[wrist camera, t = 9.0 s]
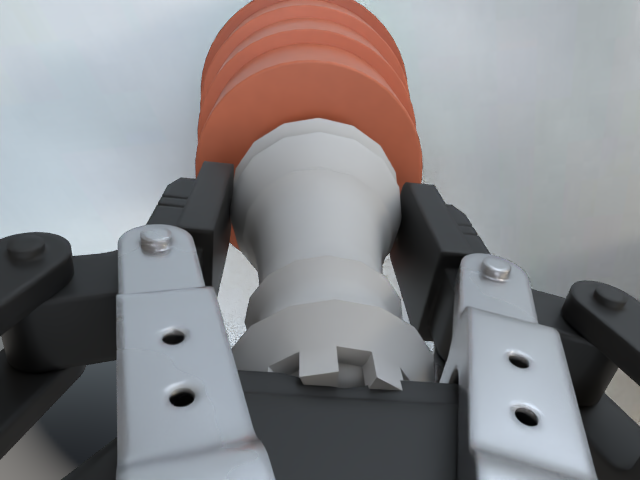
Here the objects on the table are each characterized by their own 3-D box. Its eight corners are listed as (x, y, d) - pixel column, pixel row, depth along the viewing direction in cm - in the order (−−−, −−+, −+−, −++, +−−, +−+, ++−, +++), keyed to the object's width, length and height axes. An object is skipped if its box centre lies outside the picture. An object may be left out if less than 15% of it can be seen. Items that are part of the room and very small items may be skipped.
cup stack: (345, -59, 22) (389, -66, 12) (422, 120, 26) (504, 231, 16) (174, 45, 24) (82, 116, 13) (271, 197, 28) (257, 340, 18)
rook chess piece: (310, 287, 15) (322, 565, 8) (198, 190, 14) (94, 440, 7) (428, 195, 14) (559, 438, 7) (319, 74, 12) (349, 237, 5)
